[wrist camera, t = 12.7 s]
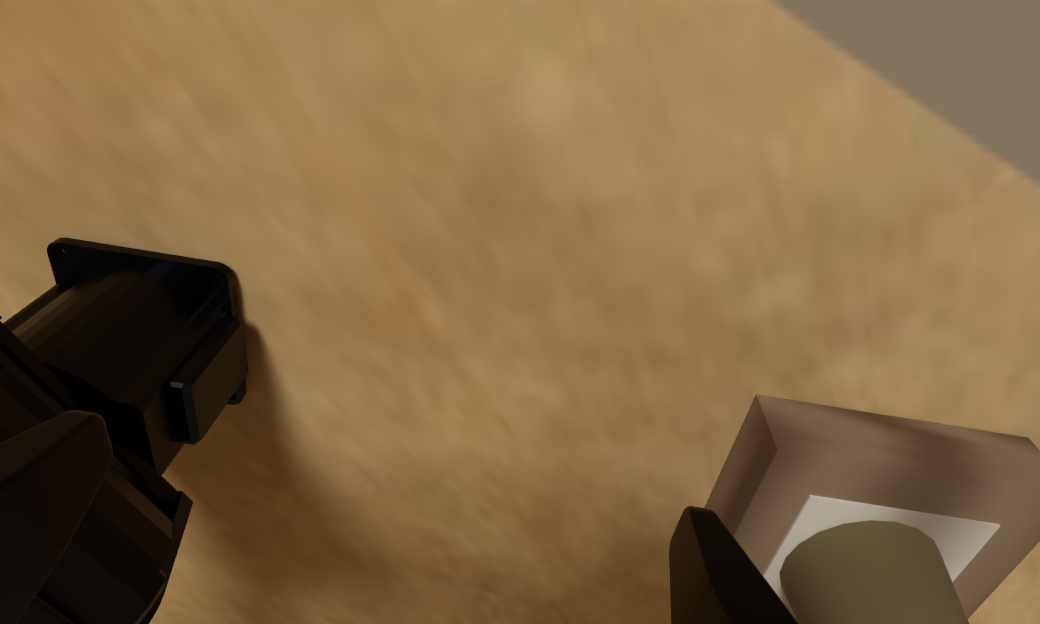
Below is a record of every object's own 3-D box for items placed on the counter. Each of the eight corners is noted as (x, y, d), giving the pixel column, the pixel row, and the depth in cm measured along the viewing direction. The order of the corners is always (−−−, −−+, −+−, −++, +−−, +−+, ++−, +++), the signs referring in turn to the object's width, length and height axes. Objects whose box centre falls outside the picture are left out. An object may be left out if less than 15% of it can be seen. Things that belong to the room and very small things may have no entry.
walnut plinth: (677, 567, 31) (687, 628, 28) (756, 395, 25) (778, 452, 22) (898, 600, 31) (928, 664, 28) (1028, 438, 25) (1082, 499, 22)
